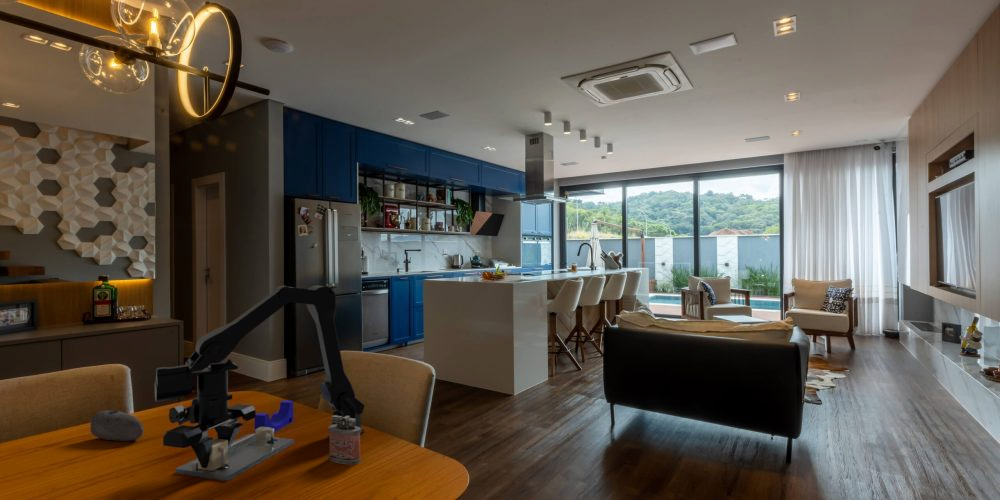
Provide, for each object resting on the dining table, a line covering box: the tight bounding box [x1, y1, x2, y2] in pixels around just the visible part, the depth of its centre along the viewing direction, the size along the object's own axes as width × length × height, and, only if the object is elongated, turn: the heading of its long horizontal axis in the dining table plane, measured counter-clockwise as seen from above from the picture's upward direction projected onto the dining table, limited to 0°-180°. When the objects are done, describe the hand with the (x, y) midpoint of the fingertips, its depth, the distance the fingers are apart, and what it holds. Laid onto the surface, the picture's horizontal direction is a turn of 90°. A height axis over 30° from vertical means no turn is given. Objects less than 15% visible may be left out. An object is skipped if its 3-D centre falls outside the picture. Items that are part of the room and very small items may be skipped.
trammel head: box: [198, 438, 228, 471], centre depth 102 cm, size 5×4×5 cm
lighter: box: [328, 414, 362, 465], centre depth 107 cm, size 8×3×10 cm, turn 71°
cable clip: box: [254, 400, 294, 433], centre depth 127 cm, size 12×4×6 cm, turn 170°
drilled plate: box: [175, 427, 295, 482], centre depth 109 cm, size 14×20×4 cm
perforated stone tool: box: [89, 409, 145, 442], centre depth 121 cm, size 15×5×7 cm, turn 74°
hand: (213, 463), depth 102 cm, fingers closed on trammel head, 4 cm apart
